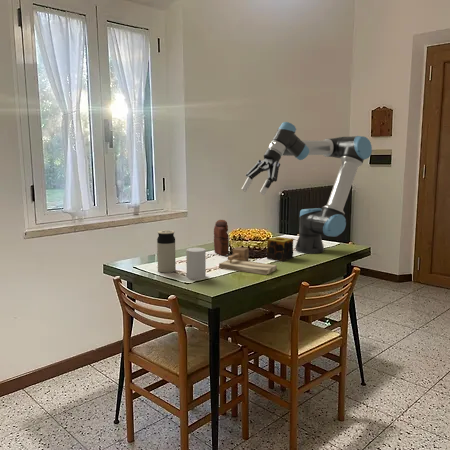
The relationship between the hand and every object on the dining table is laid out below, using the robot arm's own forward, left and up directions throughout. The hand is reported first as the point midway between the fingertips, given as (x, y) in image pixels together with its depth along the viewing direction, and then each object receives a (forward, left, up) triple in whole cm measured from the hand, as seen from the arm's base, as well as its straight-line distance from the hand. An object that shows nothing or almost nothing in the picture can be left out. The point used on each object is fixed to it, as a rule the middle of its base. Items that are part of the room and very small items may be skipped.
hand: (252, 192), depth 206 cm
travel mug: (+25, -30, -35) cm, 53 cm away
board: (+3, 0, -35) cm, 35 cm away
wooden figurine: (-18, -26, -35) cm, 48 cm away
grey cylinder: (+27, -13, -35) cm, 46 cm away
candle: (-23, +5, -35) cm, 43 cm away
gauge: (-1, -8, -35) cm, 36 cm away
